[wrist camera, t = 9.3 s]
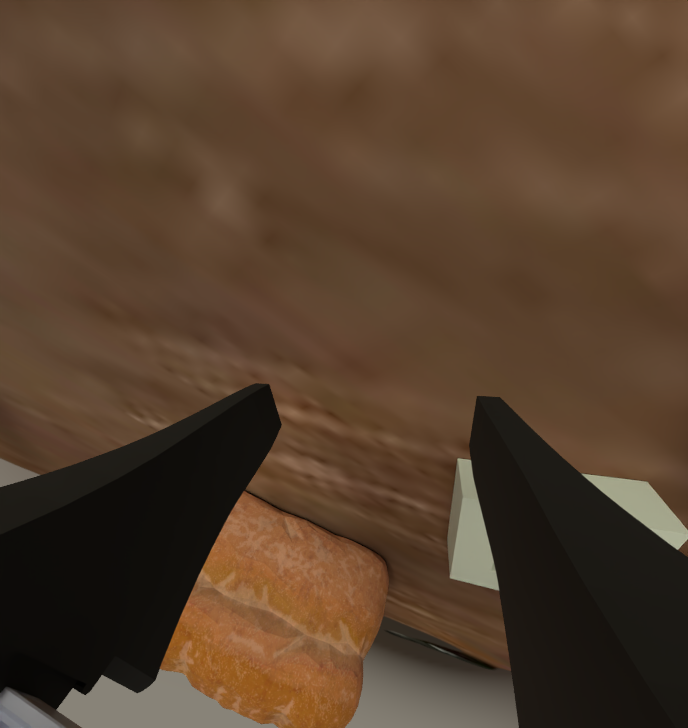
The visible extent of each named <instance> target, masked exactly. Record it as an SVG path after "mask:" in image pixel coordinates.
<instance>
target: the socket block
mask: <svg viewBox="0 0 688 728" xmlns="http://www.w3.org/2000/svg"><path fill="white" fill-rule="evenodd" d="M582 475H583V476H584V477H585V478H587V479H588V480H589V481H590V482H591V483H593V484H594V485H595V486H596V487H597V488H598V489H600V490H601V491H602V492H603V493H604V494H606V495H607V496H608V497H609V498H611V499H612V500H613V501H614V502H616V503H617V504H618V505H619V506H621V507H622V508H623V509H624V510H626V511H627V512H628V513H630V514H631V515H632V516H634V517H635V518H636V519H637V520H639V521H640V522H641V523H643V524H644V525H645V526H647V527H648V528H649V529H651V530H652V531H653V532H654V533H656V534H657V535H658V536H660V537H661V538H662V539H664V540H665V541H666V542H668V543H669V544H670V545H672V546H673V547H674V548H676V549H677V550H678V549H679V548H680V547H681V546H682V545H683V544H684V542H685V541H686V540H687V539H688V530H687V529H686V528H685V526H684V525H683V524H682V523H681V522H680V520H679V519H678V518H677V517H676V516H675V515H674V513H673V512H672V511H671V510H670V509H669V507H668V506H667V505H666V504H665V503H664V501H663V500H662V499H661V498H660V497H659V495H658V494H657V493H656V492H655V491H654V489H653V488H652V487H651V486H650V485H649V483H648V482H645V481H637V480H629V479H621V478H613V477H604V476H596V475H588V474H582ZM447 543H448V558H449V572H450V578H452V579H455V580H459V581H463V582H467V583H471V584H475V585H479V586H483V587H487V588H491V589H495V590H499V586H498V580H497V575H496V570H495V565H494V561H493V556H492V552H491V548H490V544H489V540H488V536H487V532H486V528H485V524H484V520H483V516H482V512H481V508H480V504H479V500H478V495H477V491H476V487H475V483H474V479H473V472H472V465H471V460H467V459H459V458H458V459H457V467H456V475H455V482H454V490H453V498H452V505H451V513H450V521H449V528H448V536H447Z"/></svg>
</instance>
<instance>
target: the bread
mask: <svg viewBox="0 0 688 728" xmlns="http://www.w3.org/2000/svg"><path fill="white" fill-rule="evenodd" d="M388 588H389V576H388V571H387V566H386V562H385V561H384V560H383V559H382V558H381V557H380V556H379V555H378V554H376V553H375V552H373V551H371V550H370V549H368V548H366V547H364V546H362V545H360V544H358V543H356V542H354V541H352V540H349V539H347V538H344V537H340V536H336V535H334V534H332V533H330V532H329V531H327V530H325V529H323V528H321V527H319V526H317V525H315V524H313V523H311V522H309V521H307V520H305V519H302V518H299V517H296V516H294V515H291V514H288V513H286V512H283V511H281V510H279V509H277V508H275V507H273V506H271V505H270V504H268V503H267V502H265V501H263V500H261V499H259V498H256V497H254V496H252V495H251V494H249V493H247V492H245V491H244V492H243V493H242V495H241V496H240V498H239V500H238V501H237V503H236V504H235V506H234V508H233V509H232V511H231V513H230V515H229V516H228V518H227V520H226V522H225V524H224V526H223V528H222V530H221V532H220V534H219V536H218V538H217V539H216V541H215V543H214V545H213V547H212V549H211V552H210V554H209V556H208V558H207V560H206V562H205V564H204V566H203V568H202V570H201V572H200V574H199V576H198V579H197V581H196V583H195V585H194V588H193V590H192V592H191V594H190V597H189V599H188V601H187V603H186V606H185V608H184V610H183V612H182V615H181V617H180V619H179V622H178V624H177V627H176V629H175V632H174V634H173V637H172V639H171V642H170V644H169V646H168V649H167V651H166V654H165V656H164V659H163V661H162V664H161V667H160V669H162V670H166V671H174V672H180V673H183V674H184V675H186V677H187V678H188V680H189V682H190V683H191V685H192V686H193V687H194V688H196V689H197V690H199V691H200V692H202V693H203V694H205V695H206V696H208V697H210V698H212V699H215V700H217V701H218V703H219V704H220V705H221V706H222V707H223V708H226V709H230V710H233V711H235V712H237V713H239V714H240V715H243V716H244V717H247V718H250V719H252V720H254V721H256V722H258V723H260V724H269V723H274V724H275V725H276V726H277V727H279V728H345V726H346V725H347V724H348V723H349V722H350V721H351V719H352V717H353V715H354V713H355V711H356V709H357V707H358V703H359V699H360V695H361V691H362V684H363V660H364V658H365V656H366V654H367V653H368V651H369V649H370V647H371V645H372V643H373V641H374V639H375V637H376V635H377V633H378V630H379V628H380V624H381V621H382V618H383V615H384V610H385V603H386V598H387V593H388Z"/></svg>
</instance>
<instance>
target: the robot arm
mask: <svg viewBox="0 0 688 728" xmlns="http://www.w3.org/2000/svg"><path fill="white" fill-rule="evenodd" d="M281 425H282V424H281V421H280V418H279V415H278V411H277V408H276V405H275V402H274V398H273V395H272V392H271V389H270V385H269V384H257V383H256V384H253V385H251V386H248V387H246V388H244V389H242V390H240V391H238V392H236V393H234V394H232V395H230V396H228V397H226V398H224V399H222V400H220V401H218V402H216V403H214V404H213V405H211V406H209V407H207V408H205V409H203V410H201V411H199V412H197V413H195V414H193V415H191V416H189V417H187V418H185V419H183V420H181V421H179V422H177V423H175V424H173V425H171V426H169V427H167V428H165V429H163V430H160V431H158V432H156V433H154V434H151V435H149V436H147V437H145V438H142V439H140V440H138V441H135V442H133V443H130V444H128V445H126V446H123V447H121V448H118V449H115V450H113V451H110V452H107V453H104V454H102V455H99V456H96V457H94V458H91V459H88V460H85V461H83V462H80V463H77V464H74V465H71V466H68V467H65V468H62V469H59V470H56V471H53V472H50V473H47V474H44V475H40V476H37V477H34V478H30V479H27V480H24V481H21V482H17V483H14V484H10V485H7V486H3V487H0V728H81V727H80V726H78V725H77V724H75V723H74V722H73V721H71V720H70V719H68V718H67V717H65V716H64V715H62V714H61V713H59V712H58V711H56V709H57V708H58V707H59V705H60V704H61V703H62V701H63V700H64V699H65V697H66V696H67V695H68V693H69V692H70V691H71V689H72V688H74V689H76V690H77V691H79V692H81V693H82V694H84V695H86V694H87V693H89V692H90V691H91V690H92V688H93V687H94V685H95V684H96V682H97V681H98V680H99V678H100V677H101V675H104V676H106V677H108V678H109V679H112V680H113V681H115V682H117V683H119V684H121V685H123V686H125V687H126V688H128V689H130V690H132V691H134V692H136V693H139V692H141V691H143V690H144V689H146V688H147V687H149V686H150V685H151V684H152V683H153V682H154V681H155V680H156V677H157V674H158V672H159V669H160V667H161V664H162V661H163V659H164V656H165V654H166V651H167V649H168V646H169V644H170V642H171V639H172V637H173V634H174V632H175V629H176V627H177V624H178V622H179V619H180V617H181V615H182V612H183V610H184V608H185V606H186V603H187V601H188V599H189V597H190V594H191V592H192V590H193V588H194V585H195V583H196V581H197V579H198V576H199V574H200V572H201V570H202V568H203V566H204V564H205V562H206V560H207V558H208V556H209V554H210V552H211V549H212V547H213V545H214V543H215V541H216V539H217V538H218V536H219V534H220V532H221V530H222V528H223V526H224V524H225V522H226V520H227V518H228V516H229V515H230V513H231V511H232V509H233V508H234V506H235V504H236V503H237V501H238V500H239V498H240V496H241V495H242V493H243V492H244V490H245V489H246V487H247V486H248V484H249V482H250V481H251V479H252V478H253V476H254V475H255V473H256V472H257V470H258V468H259V467H260V465H261V464H262V462H263V460H264V459H265V457H266V456H267V454H268V452H269V451H270V449H271V447H272V445H273V443H274V441H275V439H276V437H277V435H278V432H279V430H280V428H281ZM469 447H470V456H471V465H472V472H473V479H474V483H475V487H476V491H477V495H478V500H479V504H480V508H481V512H482V516H483V520H484V524H485V528H486V532H487V536H488V540H489V544H490V548H491V552H492V556H493V561H494V565H495V570H496V575H497V580H498V586H499V592H500V599H501V605H502V611H503V618H504V624H505V631H506V638H507V644H508V651H509V658H510V665H511V672H512V679H513V686H514V693H515V701H516V708H517V716H518V723H519V728H688V557H687V556H685V555H684V554H683V553H681V552H680V551H678V550H677V549H676V548H674V547H673V546H672V545H670V544H669V543H668V542H666V541H665V540H664V539H662V538H661V537H660V536H658V535H657V534H656V533H654V532H653V531H652V530H651V529H649V528H648V527H647V526H645V525H644V524H643V523H641V522H640V521H639V520H637V519H636V518H635V517H634V516H632V515H631V514H630V513H628V512H627V511H626V510H624V509H623V508H622V507H621V506H619V505H618V504H617V503H616V502H614V501H613V500H612V499H611V498H609V497H608V496H607V495H606V494H604V493H603V492H602V491H601V490H600V489H598V488H597V487H596V486H595V485H594V484H593V483H591V482H590V481H589V480H588V479H587V478H585V477H584V476H583V475H582V474H581V473H580V472H578V471H577V470H576V469H575V468H574V467H572V466H571V465H570V464H569V463H568V462H567V461H566V460H565V459H563V458H562V457H561V456H560V455H559V454H558V453H557V452H556V451H555V450H554V449H553V448H551V447H550V446H549V445H548V444H547V443H546V442H545V441H544V440H543V439H542V438H541V437H540V436H539V435H538V434H537V433H536V432H534V431H533V430H532V429H531V428H530V427H529V426H528V425H527V424H526V423H525V422H524V421H523V420H522V419H521V418H520V417H519V416H518V415H517V414H516V413H515V412H514V411H513V410H512V409H511V408H510V407H509V406H508V405H507V404H506V403H505V402H504V401H503V400H502V399H501V398H500V397H486V396H477V399H476V406H475V412H474V418H473V425H472V431H471V438H470V444H469Z"/></svg>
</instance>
